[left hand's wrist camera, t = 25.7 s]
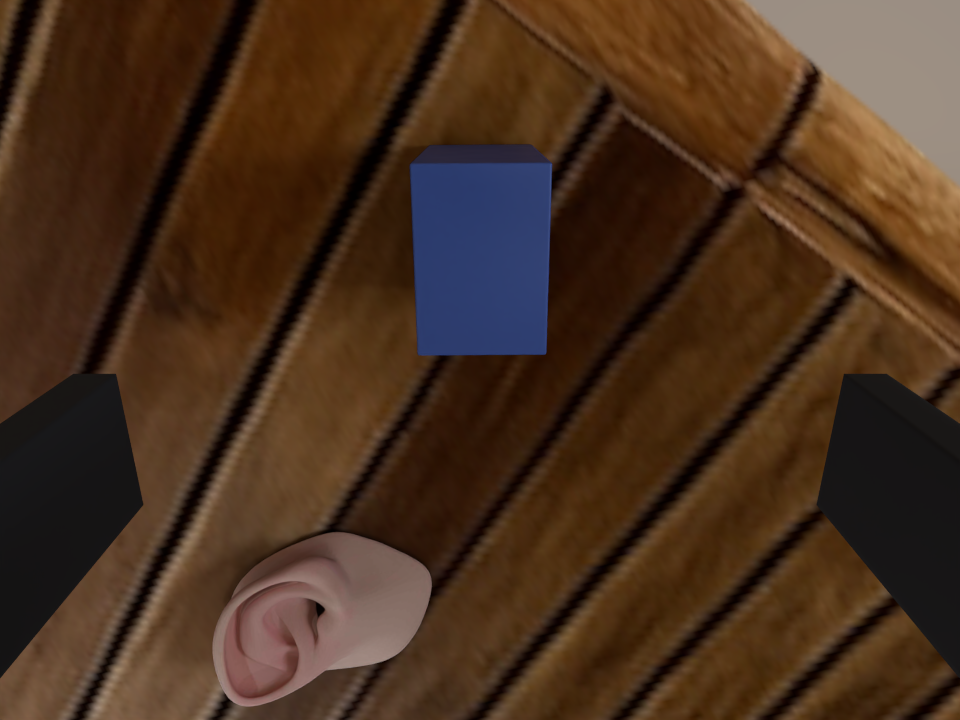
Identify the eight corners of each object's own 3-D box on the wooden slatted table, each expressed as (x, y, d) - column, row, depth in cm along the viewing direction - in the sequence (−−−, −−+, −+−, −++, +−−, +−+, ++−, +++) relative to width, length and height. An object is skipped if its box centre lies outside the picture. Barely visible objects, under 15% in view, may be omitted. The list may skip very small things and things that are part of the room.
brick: (531, 144, 34) (552, 162, 25) (529, 288, 37) (546, 355, 27) (428, 144, 34) (409, 163, 25) (433, 289, 37) (417, 355, 27)
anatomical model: (428, 576, 39) (424, 725, 43) (433, 534, 42) (429, 674, 47) (194, 567, 39) (213, 717, 43) (219, 525, 42) (234, 667, 46)
